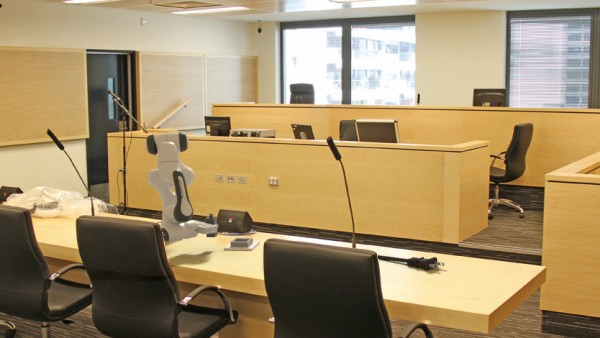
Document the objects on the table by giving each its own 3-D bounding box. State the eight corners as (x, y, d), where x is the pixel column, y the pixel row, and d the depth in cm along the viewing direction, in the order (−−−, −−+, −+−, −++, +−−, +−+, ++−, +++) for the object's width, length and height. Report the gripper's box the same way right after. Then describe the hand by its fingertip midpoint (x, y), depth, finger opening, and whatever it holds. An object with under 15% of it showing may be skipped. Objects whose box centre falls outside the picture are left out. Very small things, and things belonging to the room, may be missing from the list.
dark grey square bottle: (209, 235, 383) (208, 212, 381) (217, 235, 382) (216, 212, 380) (206, 237, 378) (205, 214, 377) (214, 237, 377) (213, 214, 376)
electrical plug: (436, 273, 324) (435, 261, 324) (362, 262, 353) (361, 252, 352) (446, 268, 330) (446, 257, 330) (373, 258, 359) (372, 248, 358)
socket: (232, 243, 392) (232, 236, 392) (259, 243, 389) (259, 237, 389) (223, 249, 378) (223, 243, 377) (252, 250, 375) (251, 243, 374)
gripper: (202, 225, 362) (225, 221, 372) (179, 220, 377) (201, 215, 387) (203, 238, 363) (225, 233, 373) (179, 232, 378) (201, 227, 387)
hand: (212, 224), depth 380 cm, fingers closed on dark grey square bottle, 6 cm apart
